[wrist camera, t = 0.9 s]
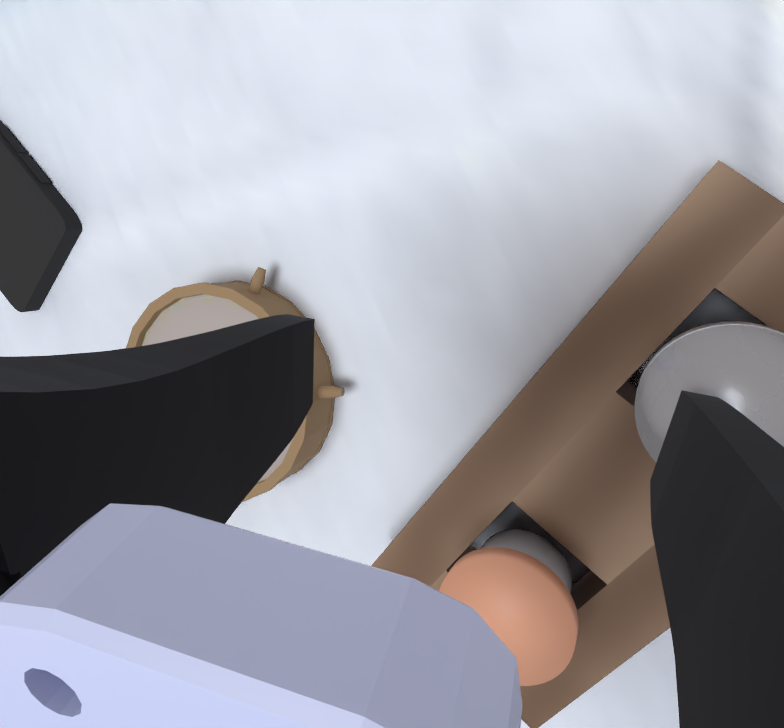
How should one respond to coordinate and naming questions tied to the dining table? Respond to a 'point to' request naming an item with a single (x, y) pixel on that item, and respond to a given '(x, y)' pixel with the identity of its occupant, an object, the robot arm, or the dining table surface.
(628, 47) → the dining table surface
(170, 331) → the alarm clock
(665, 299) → the button panel
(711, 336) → the silver metal dome
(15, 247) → the smart home device
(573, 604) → the terracotta plunger
